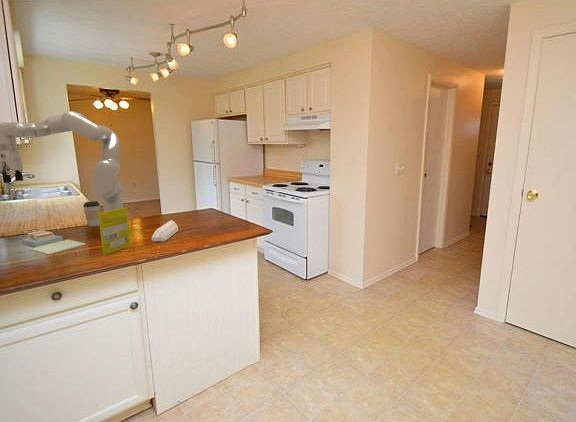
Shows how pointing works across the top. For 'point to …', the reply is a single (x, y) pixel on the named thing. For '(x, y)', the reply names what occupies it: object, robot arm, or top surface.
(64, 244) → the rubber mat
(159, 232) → the crystal
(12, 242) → the top surface
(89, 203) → the coffee cup
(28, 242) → the block
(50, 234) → the birch tile
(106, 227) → the food package
